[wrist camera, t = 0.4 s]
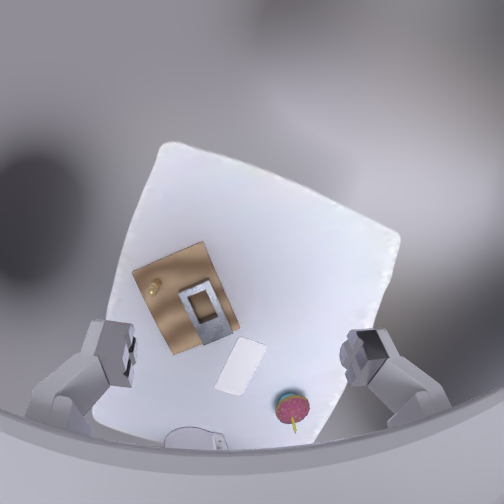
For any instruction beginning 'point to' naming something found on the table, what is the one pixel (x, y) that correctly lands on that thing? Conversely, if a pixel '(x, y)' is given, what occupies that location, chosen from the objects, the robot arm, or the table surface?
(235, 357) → the smartphone
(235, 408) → the table surface
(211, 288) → the steel link
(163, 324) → the oak board
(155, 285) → the post
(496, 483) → the robot arm
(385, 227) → the table surface
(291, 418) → the cupcake
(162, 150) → the table surface
